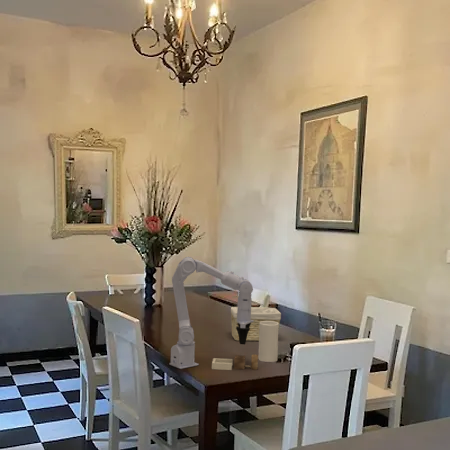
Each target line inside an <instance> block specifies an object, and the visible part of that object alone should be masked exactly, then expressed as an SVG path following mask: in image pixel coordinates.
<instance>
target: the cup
mask: <svg viewBox="0 0 450 450" xmlns="http://www.w3.org/2000/svg"><path fill="white" fill-rule="evenodd" d="M279 323H280V322H279ZM279 323H278V322H274V321H261V322H260V325H259V341H258V361H260V362H263V363H264V362H266V363H275V362H278V355H279V354H278V353H279V350H278V348H279V347H278V346H279V331H278V330H279V329H278V327H279V328H280V324H279Z"/></svg>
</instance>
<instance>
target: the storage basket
mask: <svg viewBox="0 0 450 450" xmlns="http://www.w3.org/2000/svg"><path fill="white" fill-rule="evenodd" d="M230 314H231V315H230V316H231V319H230V320H231V336H232V338H233V339H234V340H235V341H239V335H238V332H237V329H236V326H238V324H237V323H238V322H237V321H236V320H237V306H231V307H230ZM281 319H282V313H281V312H280V311H279V310H278V309H277V308H276V307H267V306H266V307H263V306H262V307H261V306H257V307H256V306H255V307H253V306H251V320H254V322H251V325H250V327H249V328H250V330H249V332H248V334H247V338H246V342H248V341H249V342H250V341H251V342H252V341H255V342H256V341H257V342H259V325H260V322H261V321H274V322H278V323H279V325H280V322H281ZM279 329H280V326H279V327H278V332H279Z"/></svg>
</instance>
